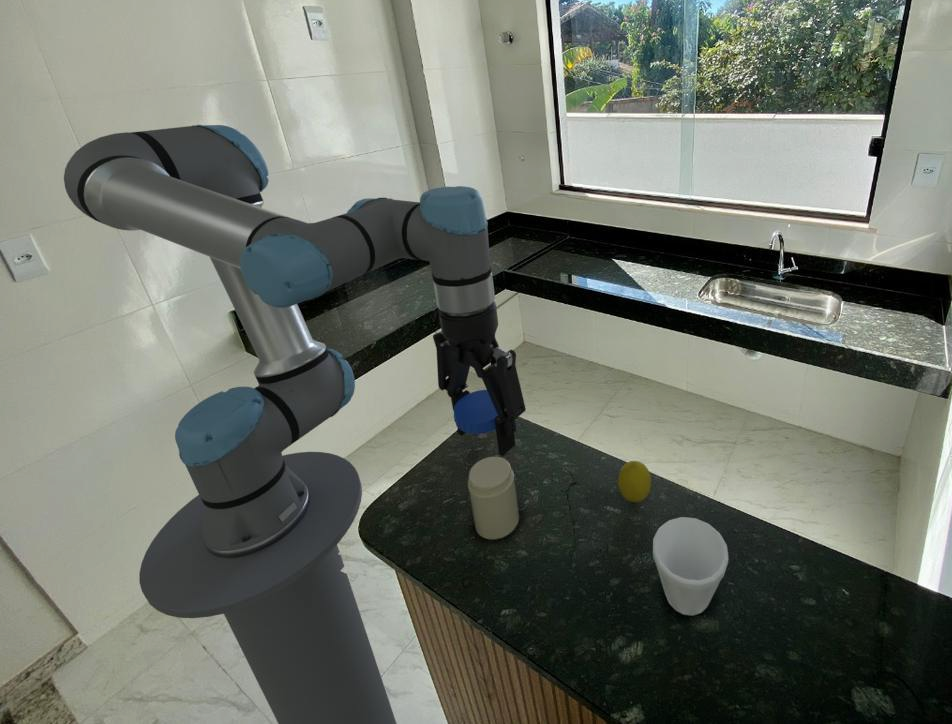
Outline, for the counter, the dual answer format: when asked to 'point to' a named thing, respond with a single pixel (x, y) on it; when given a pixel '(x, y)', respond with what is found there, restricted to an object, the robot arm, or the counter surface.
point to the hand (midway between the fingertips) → (486, 439)
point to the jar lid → (475, 413)
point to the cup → (689, 563)
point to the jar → (493, 497)
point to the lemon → (634, 481)
